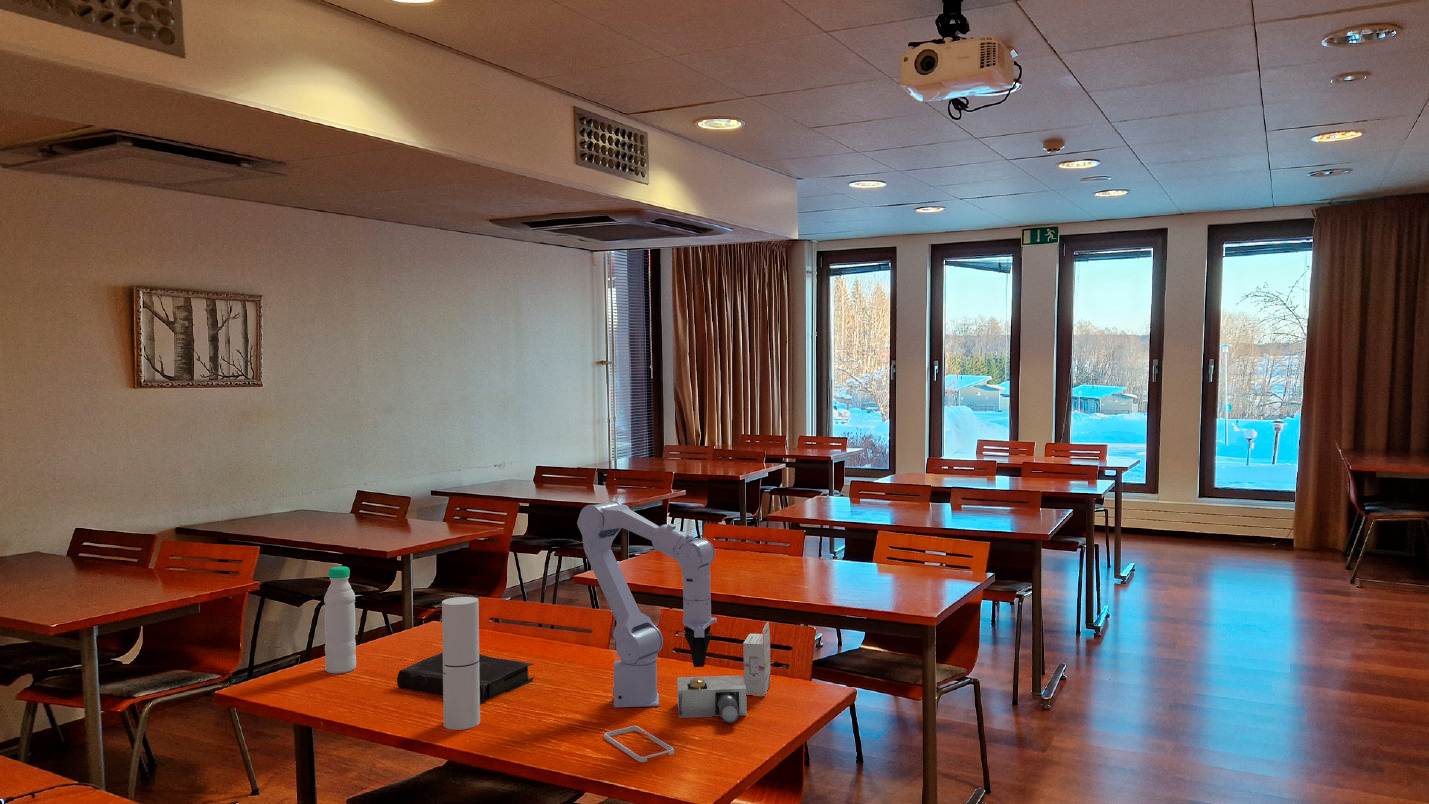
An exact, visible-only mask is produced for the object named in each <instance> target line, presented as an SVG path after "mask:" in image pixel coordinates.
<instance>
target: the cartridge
mask: <svg viewBox="0 0 1429 804" xmlns="http://www.w3.org/2000/svg"><path fill="white" fill-rule="evenodd" d="M716 697H717V702H718V707H719V712H720V716H721V717H720V718H721V720H722V721H723V722H725V723H728V724H732V723H735V722H736V721H737V720H738V718H739V717H740V716H739V710H738V706H737V702H736V699H735V695H734V692H717V693H716Z"/></svg>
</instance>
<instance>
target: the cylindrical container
mask: <svg viewBox="0 0 1429 804" xmlns="http://www.w3.org/2000/svg"><path fill="white" fill-rule="evenodd" d="M479 610H480V609H479V598H478V597H474V596H456V597H449V598H446V599H444V600H442V601H441V621H442V622H441V623H442V624H441V625H442V626H441V627H442V628H441V629H442V630H441V631H442V632H441V633H442V653H443V696H442V697H443V699H442V701H443V702H442V704H443V707H442V708H443V709H442V711H443V712H442V713H443V728H445V729H447V730H451V731H452V730H453V731H454V730H455V731H458V730H460V731H461V730H468V729H471V728H475V727H477V726H478V725H479V724H480V723H481V705H480V704H481V703H480V682H479V654H480V630H479V629H480V625H479V623H480V621H479V619H480V617H479V615H480V612H479Z"/></svg>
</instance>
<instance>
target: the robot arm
mask: <svg viewBox="0 0 1429 804" xmlns="http://www.w3.org/2000/svg"><path fill="white" fill-rule="evenodd" d="M576 524H577V527H578V529H579V531H580V533H581V536H582V544H583V545H582V546H583V551H584V554H585V555H586V557H587V560H588V562H589V565H590V566H591V568H592V571H593V573H594V576H595V577H596V580H597V582H598V584H599V586H600V589H601V591H602V593H603V595H604V598H605V599H606V601H607V604H608V606H609V608H610V611H611V613H612V615H613V618H614V619H615V621H616V625H615V628H614V630H613V633H612V636H613V638H614V643H615V650H616V654H617V656H618V658H619V659H620V660H615V661H614V663H613V687H612V696H613V701H614V702H613V707H614V708H634V707H635V708H637V707H639V708H641V707H645V708H646V707H659V706H660V694H659V692H658V684H657V683H658V679H657V678H658V674H657V673H658V672H657V671H658V669H657V664H658V663H657V658H658V657H659V655H658V654H659V652H660V651H661V649H662V648H663V645H664V637H663V634H662V632H661V631H660V629H659V628H658V627H657V626H656V625H655V624H654V622H653V621H652V619H651V617H649V616H648V615H646V614H645V613H642V612H641V611H640V609H639V607H638V604H637V602H636V600H635V598H634V596H633V594H632V592H631V590H630V587H629V585H628V583H627V581H626V579H625V576H624V574H623V572H622V570H621V568H620V565H619V563H618V561H617V559H616V557H615V554H614V553H613V550H612V546H613V545H612V544H613V541H614V540H615V538H616V537H617V536H618V534H619V532H620V531H621V529H624V530H626V531H629V532H631V533H634V534H635V535H638V536H640V537H642V538H645V539H647V540H649V541H651V544H652V547H653V548H654V549H655V550H657V551H658V552H660V553H662V554H664V555H666V556H669V557H670V558H673V559H674V560H676V561H677V564H678V565H679V567H680V568H681V576H682V594H683V595H682V597H683V598H682V599H683V618H682V624H683V625H684V626H683V631H684V637H685V640H686V642H687V644H688V646H689V650H690V655H691V660H692V661H691V662H692V665H693V668H704V667H705V664H706V660H707V652H708V647H709V644H710V641H711V640H712V637H713V632H710V630H711V627H712V626H711V624H717V622H718V619H717V617H712V602H711V601H712V599H711V598H712V596H711V595H712V594H711V591H712V590H711V564H712V563H713V562H714V560H715V557H716V550H715V547H714V545H713V543H712V542H711V541H709V540H708V539H707V538H706V537H698V538H695V537H694V535H693V534H691V533H689V534H687V533H685V532H683V531H681V530H679V529H677V528H676V525H675V524H673V523H670V524H662V525H660V526H659V525H657V524H656V523H655V522H652V521H650V520H649V519H647V518H645V517H644V516H642V515H640V514H638V513H637V512H635V511H634V510H632V509H631V508H630V507H629V506H628V505H627V504H623V503H621V502H619V501H617V500H612V501H608V502H604V503H597V504H587V505H585V506H584V507H583V508H582V509H581V510H580V513H579V516H578V518H577V522H576Z"/></svg>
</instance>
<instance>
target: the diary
mask: <svg viewBox="0 0 1429 804" xmlns="http://www.w3.org/2000/svg"><path fill="white" fill-rule="evenodd" d="M530 666H534V663H532V662H525V661H519V660H513V659H512V660H511V659H505V658H499V657H492V656H489V655H485V654H481V653H479V682H480V704H486V701H489V699H491V698H492V699H493V698H495V697H497V696H500V695H501V694H503V693H510V692H512V691H515V690H516V689H519V688H522V687H523V686H526V685H528V684H530V683H531V682H532V681H534V680H535V677H530V678H529V667H530ZM396 683H397V687H398V688H399V689H403V690H409V691H416V692H420V693H421V692H422V693H426V694H432V695H436V696H442V697H443V652H440V653H437V654H435V655H432V656H430V657H426V658H425V659H423V660H420V661H418V662H416V663H414V664H411V665H410V666H407V667H405V668H402V669H400V670H399V671H398V673H397V677H396Z"/></svg>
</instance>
